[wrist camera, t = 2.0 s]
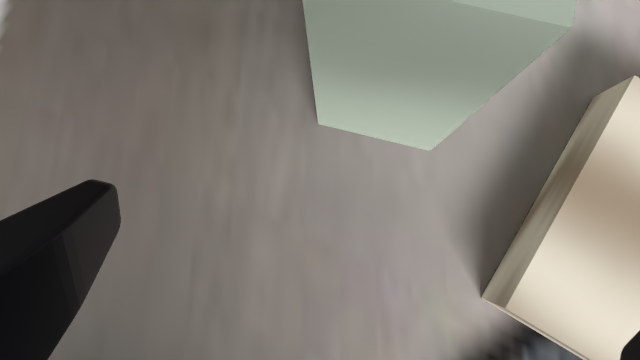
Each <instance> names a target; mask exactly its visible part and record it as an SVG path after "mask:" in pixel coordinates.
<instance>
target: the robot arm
mask: <svg viewBox="0 0 640 360" xmlns="http://www.w3.org/2000/svg"><path fill="white" fill-rule="evenodd" d="M120 223H121V216H120V209H119V201H118V194H117V189H116V187H115V186H114V185H112V184H110V183H106V182H102V181H98V180H93V179H91V180H87V181H85V182H82V183H80V184H78V185H76V186H74V187H72V188H69V189H67V190H65V191H63V192H61V193H59V194H57V195H54V196H52V197H50V198H48V199H46V200H44V201H41V202H39V203H37V204H35V205H33V206H31V207H29V208H26V209H24V210H22V211H20V212H18V213H16V214H13V215H11V216H9V217H7V218H5V219H3V220H1V221H0V360H48V358H49V356H50V355H51V353H52V352H53V350H54V349H55V347H56V346H57V344H58V342H59V341H60V339H61V338H62V336H63V335H64V333H65V332H66V330H67V328H68V327H69V325H70V324H71V322H72V321H73V319H74V317H75V316H76V314H77V312H78V311H79V309H80V307H81V305H82V304H83V302H84V300H85V298H86V296H87V294H88V292H89V290H90V288H91V286H92V284H93V282H94V280H95V278H96V276H97V274H98V272H99V270H100V268H101V266H102V264H103V262H104V259H105V257H106V255H107V253H108V251H109V249H110V247H111V245H112V243H113V241H114V239H115V237H116V235H117V233H118V231H119V228H120ZM620 360H640V330H639V331H638V332H637V333H636V334H635V336H634V337H633V338H632V339H631V340H630V341H629V342H628V343H627V344H626V345H625V346H624V348H623V349H622V352H621V356H620Z"/></svg>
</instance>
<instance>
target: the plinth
mask: <svg viewBox="0 0 640 360" xmlns="http://www.w3.org/2000/svg"><path fill="white" fill-rule="evenodd" d="M481 299H483V300H485V301H486V302H488V303H490V304H491V305H493V306H495V307H496V308H498V309H500V310H501V311H503V312H505V313H506V314H508V315H510V316H511V317H513V318H515V319H517V320H518V321H520V322H522V323H523V324H525V325H527V326H528V327H530V328H532V329H533V330H535V331H537V332H538V333H540V334H542V335H543V336H545V337H547V338H548V339H550V340H552V341H553V342H555V343H557V344H558V345H560V346H562V347H563V348H565V349H567V350H568V351H570V352H572V353H573V354H575V355H577V356H578V357H580V358H582V359H583V360H620V356H621V352H622V349H623V348H624V346H625V345H626V344H627V343H628V342H629V341H630V340H631V339H632V338H633V337H634V336H635V334H636V333H637V332H638V331H639V330H640V78H639V77H637V76H635V75H634V76H632V77H630V78H628V79H626V80H624V81H623V82H621V83H619V84H617V85H615V86H613V87H611V88H609V89H608V90H606V91H604V92H602V93H600V94H598V95H596V96H594V97H593V99H592V101H591V102H590V104H589V106H588V108H587V109H586V111H585V113H584V115H583V117H582V118H581V120H580V122H579V124H578V126H577V127H576V129H575V131H574V133H573V134H572V136H571V138H570V140H569V142H568V143H567V145H566V147H565V149H564V150H563V152H562V154H561V156H560V158H559V159H558V161H557V163H556V165H555V167H554V168H553V170H552V172H551V174H550V175H549V177H548V179H547V181H546V183H545V184H544V186H543V188H542V190H541V191H540V193H539V195H538V197H537V199H536V200H535V202H534V204H533V206H532V208H531V209H530V211H529V213H528V215H527V216H526V218H525V220H524V222H523V224H522V225H521V227H520V229H519V231H518V233H517V234H516V236H515V238H514V240H513V241H512V243H511V245H510V247H509V249H508V250H507V252H506V254H505V256H504V257H503V259H502V261H501V263H500V265H499V266H498V268H497V270H496V272H495V274H494V275H493V277H492V279H491V281H490V282H489V284H488V286H487V288H486V290H485V291H484V293H483V295H482V297H481Z"/></svg>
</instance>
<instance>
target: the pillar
mask: <svg viewBox="0 0 640 360" xmlns="http://www.w3.org/2000/svg"><path fill="white" fill-rule="evenodd" d="M576 4H577V0H303V8H304V16H305V24H306V32H307V40H308V47H309V55H310V63H311V71H312V79H313V87H314V95H315V103H316V111H317V119H318V124H320V125H324V126H328V127H332V128H337V129H341V130H345V131H349V132H353V133H357V134H362V135H366V136H370V137H374V138H378V139H382V140H387V141H391V142H395V143H399V144H403V145H407V146H412V147H416V148H420V149H424V150H428V151H431V150H432V149H433V148H434V147H435V146H437V145H438V144H439V143H440V142H441V141H442V140H443V139H445V138H446V137H447V136H448V135H449V134H450V133H451V132H453V131H454V130H455V129H456V128H457V127H458V126H459V125H461V124H462V123H463V122H464V121H465V120H466V119H468V118H469V117H470V116H471V115H472V114H473V113H474V112H476V111H477V110H478V109H479V108H480V107H481V106H482V105H484V104H485V103H486V102H487V101H488V100H489V99H491V98H492V97H493V96H494V95H495V94H496V93H497V92H499V91H500V90H501V89H502V88H503V87H504V86H505V85H507V84H508V83H509V82H510V81H511V80H512V79H514V78H515V77H516V76H517V75H518V74H519V73H520V72H522V71H523V70H524V69H525V68H526V67H527V66H528V65H530V64H531V63H532V62H533V61H534V60H535V59H537V58H538V57H539V56H540V55H541V54H542V53H543V52H545V51H546V50H547V49H548V48H549V47H550V46H551V45H553V44H554V43H555V42H556V41H557V40H558V39H559V38H561V37H562V36H563V35H564V34H565V33H566V32H568V31H569V30H570V29H571V28H572V24H573V19H574V14H575V9H576Z"/></svg>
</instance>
